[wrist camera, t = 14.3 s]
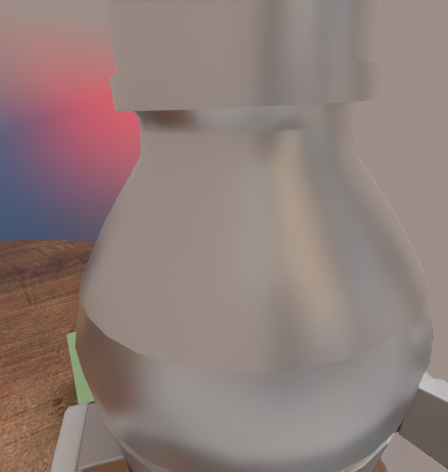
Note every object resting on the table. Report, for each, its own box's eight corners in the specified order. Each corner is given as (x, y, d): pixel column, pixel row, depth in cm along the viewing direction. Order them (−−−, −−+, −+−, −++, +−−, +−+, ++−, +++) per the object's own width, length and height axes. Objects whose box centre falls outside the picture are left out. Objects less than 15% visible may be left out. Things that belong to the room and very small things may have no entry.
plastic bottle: (156, 534, 14) (27, 16, 6) (289, 484, 16) (324, 21, 8) (175, 818, 9) (-997, -884, 1) (379, 697, 10) (846, -196, 2)
